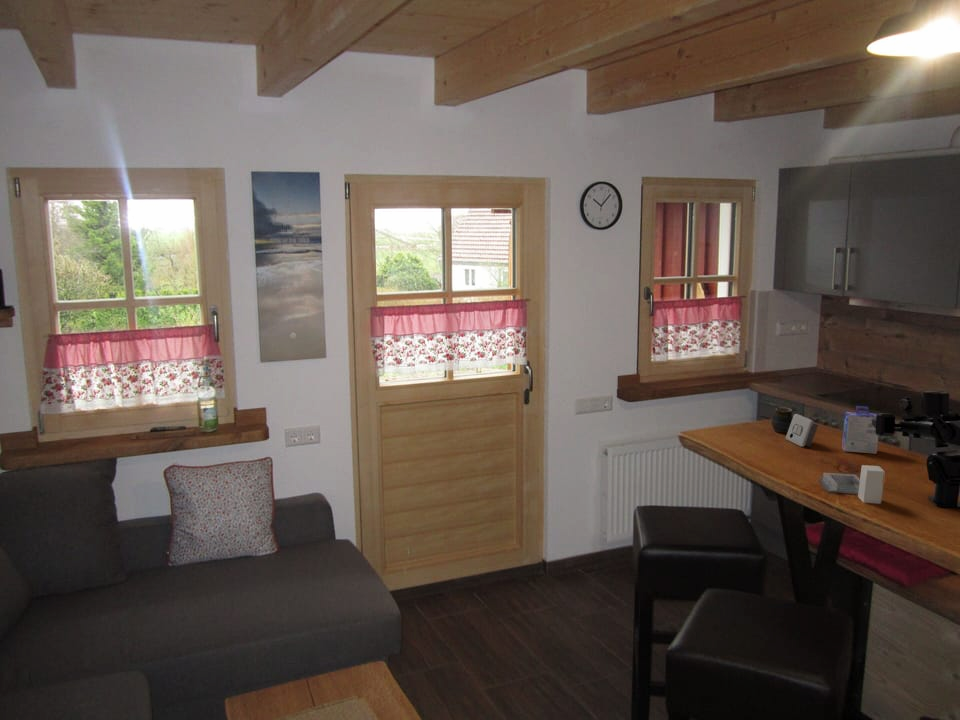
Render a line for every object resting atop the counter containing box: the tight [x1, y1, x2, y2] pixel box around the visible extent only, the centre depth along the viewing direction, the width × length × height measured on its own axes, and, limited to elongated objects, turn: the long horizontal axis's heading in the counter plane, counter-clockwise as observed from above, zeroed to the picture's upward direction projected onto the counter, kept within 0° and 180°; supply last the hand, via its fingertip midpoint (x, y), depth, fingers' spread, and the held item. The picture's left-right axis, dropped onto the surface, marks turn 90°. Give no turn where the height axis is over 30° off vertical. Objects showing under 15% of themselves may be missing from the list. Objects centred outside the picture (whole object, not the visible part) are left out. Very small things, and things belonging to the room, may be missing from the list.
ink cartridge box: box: [841, 405, 880, 455], centre depth 254 cm, size 10×6×14 cm, turn 79°
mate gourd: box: [771, 404, 793, 434], centre depth 275 cm, size 7×8×10 cm
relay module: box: [857, 464, 886, 505], centre depth 211 cm, size 4×5×9 cm
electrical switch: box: [785, 413, 819, 448], centre depth 262 cm, size 9×5×9 cm, turn 13°
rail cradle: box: [817, 472, 860, 495], centre depth 221 cm, size 10×11×2 cm
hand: (885, 423), depth 231 cm, fingers open, 9 cm apart
